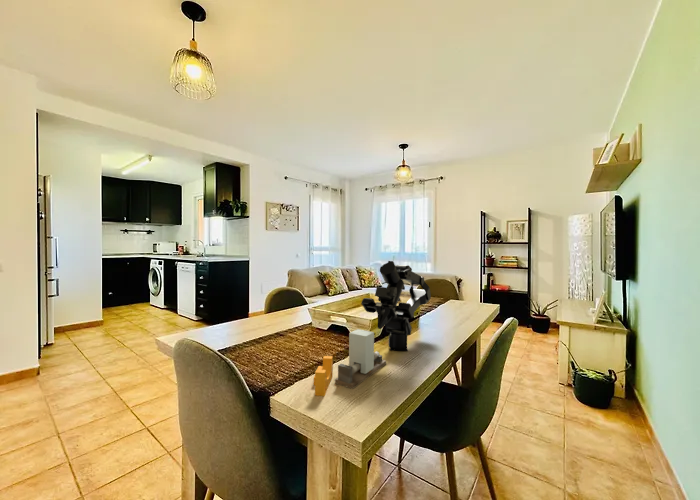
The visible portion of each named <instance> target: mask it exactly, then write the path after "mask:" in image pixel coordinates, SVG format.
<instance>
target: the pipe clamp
mask: <svg viewBox="0 0 700 500" xmlns="http://www.w3.org/2000/svg"><path fill="white" fill-rule="evenodd" d="M333 359H334V356H332V355H323V358H322V365H318V366H317V369H316V370H315V372H314V376H313V386H314V396H315V397H325V395H326V393H327V391H328V388H329V387H330V384H331V381H332V379H333V375H334V374H333V370H334V369H333V365H334V361H333Z"/></svg>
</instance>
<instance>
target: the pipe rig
mask: <svg viewBox="0 0 700 500" xmlns="http://www.w3.org/2000/svg"><path fill="white" fill-rule="evenodd" d="M337 365H338V366H337V377H336V378H334V383H335V384H337V385H339V386H343V387H346V388H348V389H352V390H353V389H355V388H356V387H357V386H359V384H361V383H362V382H364V381H365V380H367V379H368V378H370V377H371V376H372V375H373V374H374V373H377V372H378V371H379V370H380V369H381V368H383V367H384V366H386V365H387V360H385V359H383V355H381V354H380V352H379V351H377V350H376V351H374V368H373V369H372V370H371V371H369V372H368V373H366V374H364V373H361V364H360V363H356V364H355V365H353V366H349V364H344V363H339V364H337Z"/></svg>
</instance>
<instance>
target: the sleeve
mask: <svg viewBox="0 0 700 500" xmlns="http://www.w3.org/2000/svg"><path fill="white" fill-rule="evenodd" d="M348 335H349V336H348V339H349V340H348V347H349V348H348V366H353V365H355V364H356V363H360V364H361V373H364V374H366V373H368V372H369V371H371V370H372V369H373V368H374V352H375V332H374V331H370V330H365V329H364V330H363V329H359V328H357V329H355V330H353V331H351V332H349V334H348Z"/></svg>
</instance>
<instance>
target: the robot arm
mask: <svg viewBox="0 0 700 500" xmlns="http://www.w3.org/2000/svg"><path fill="white" fill-rule="evenodd" d="M379 272H380V274H381V276H382V278H383V280H384V282H385V284H387V286H386V287H385V286H383V287H381V286H377V287H376V289H375V294H374V296H375V297H377V300H378V301H375V300H374V298H369V297H364V298H363V299H362V301H361V302H360V303H361V305H362V307H363V308H364V311H365V312H367V313H373V314H374V313H377V329H379V330H381V329H382V328H384V327H385V331H386V333H389V334H388V348H389V349H390V351H391V352H408V351H409V349H408V336H411V333H412V328H413V327H412V325H411V323H410V322H409V319H413V318H414V315H415V313H416V310H417V309H418V308H419V307H420V306H422V305H427V304H428V303H429V301H430V300H431V296H432V294H431V289H430V287H429V285H428V283H426V281H425V277H424V276H422V275H419V274H417V273H415V272H413V269H412V267H411V266H410V265H408V264H407V265H406V264H395V261H394V260H388V261H387V262H386V263H384V264H382V265H381V266H380V268H379ZM404 281H406V282H408V283H410V284H411V285H410V287H409V290H408V291H409V295H410V298H409V299H408V300H407V301H406V302H401V298H400V297H401V294H402V292H403V291H404V290H405V289H406V286H405V283H404ZM414 285H415V286H421V288H422V289H421V288H414ZM398 302H399V303H398Z"/></svg>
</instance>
